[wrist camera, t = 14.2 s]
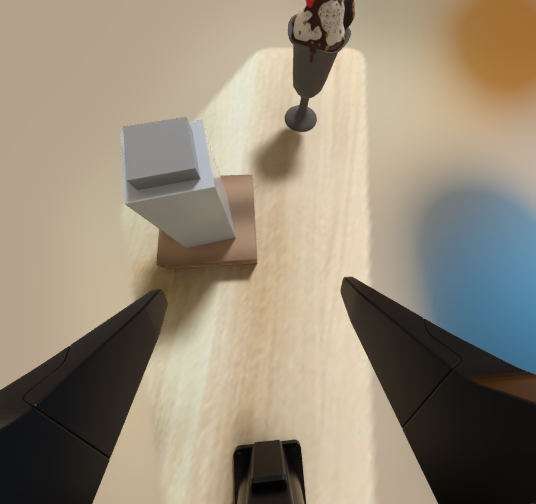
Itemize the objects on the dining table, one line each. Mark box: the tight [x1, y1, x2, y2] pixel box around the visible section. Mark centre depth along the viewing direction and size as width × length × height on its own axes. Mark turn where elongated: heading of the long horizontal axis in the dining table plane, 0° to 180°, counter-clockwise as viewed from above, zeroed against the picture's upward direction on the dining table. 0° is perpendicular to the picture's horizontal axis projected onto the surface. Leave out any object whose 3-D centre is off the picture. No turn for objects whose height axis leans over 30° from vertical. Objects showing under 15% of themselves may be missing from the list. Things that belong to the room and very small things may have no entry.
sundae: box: [285, 0, 355, 131], centre depth 22 cm, size 7×7×15 cm
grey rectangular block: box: [121, 117, 236, 248], centre depth 17 cm, size 6×6×11 cm
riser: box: [157, 175, 257, 269], centre depth 24 cm, size 11×11×3 cm
